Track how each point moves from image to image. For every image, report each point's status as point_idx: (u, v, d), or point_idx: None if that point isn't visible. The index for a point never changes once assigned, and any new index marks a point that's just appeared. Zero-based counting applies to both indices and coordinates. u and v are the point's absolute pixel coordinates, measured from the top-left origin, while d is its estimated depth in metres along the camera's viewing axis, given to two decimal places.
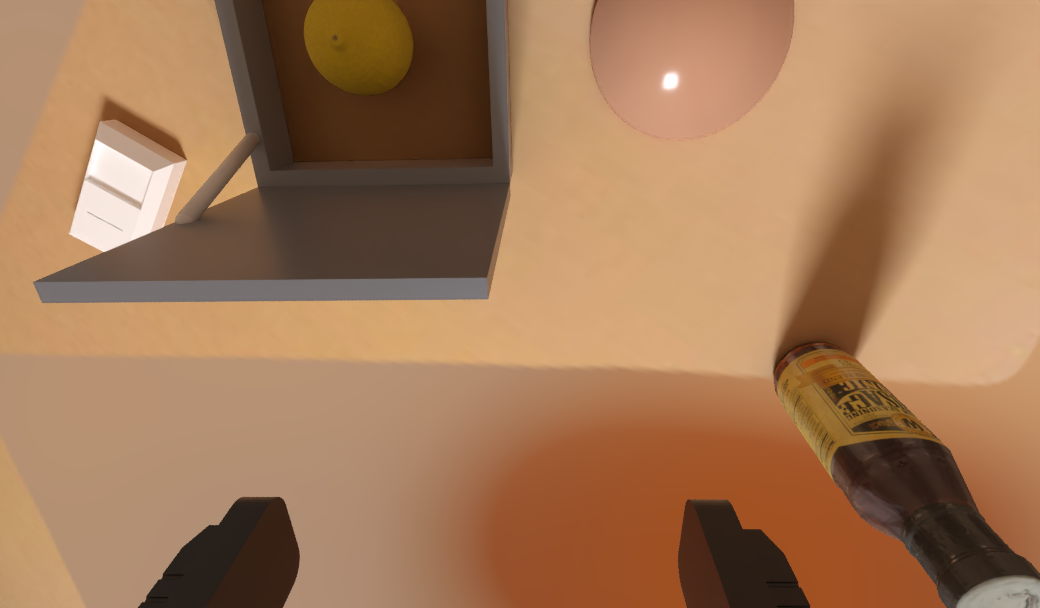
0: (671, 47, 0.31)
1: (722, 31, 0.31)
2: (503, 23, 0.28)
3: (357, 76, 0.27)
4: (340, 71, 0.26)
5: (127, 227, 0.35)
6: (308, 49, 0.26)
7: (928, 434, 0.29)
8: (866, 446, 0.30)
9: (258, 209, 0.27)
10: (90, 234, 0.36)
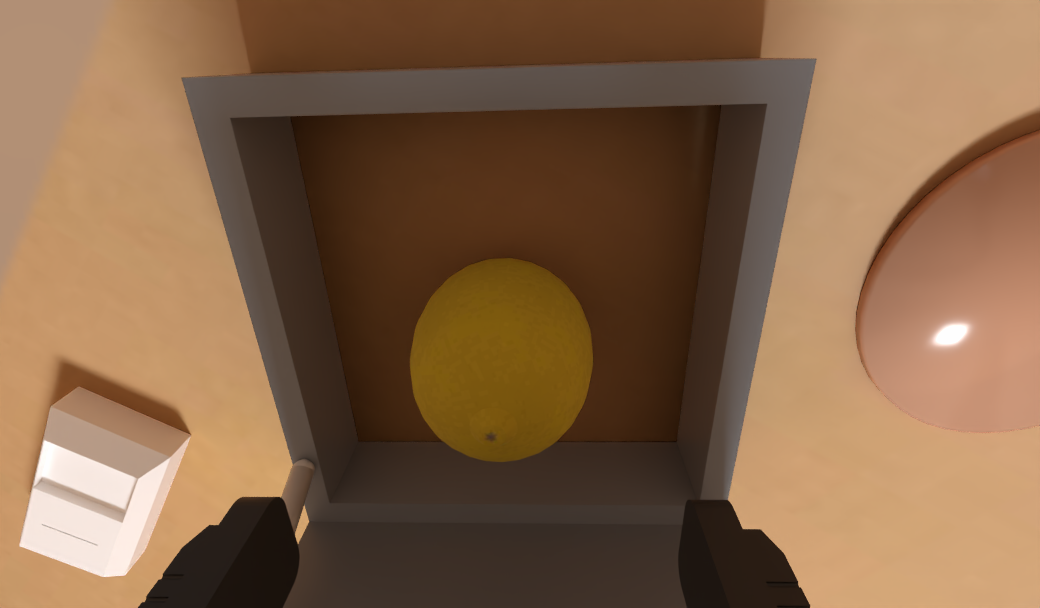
0: (1006, 313, 0.18)
1: None
2: (760, 321, 0.16)
3: (514, 460, 0.14)
4: (485, 458, 0.14)
5: (104, 541, 0.23)
6: (423, 413, 0.14)
7: None
8: None
9: None
10: (49, 549, 0.23)
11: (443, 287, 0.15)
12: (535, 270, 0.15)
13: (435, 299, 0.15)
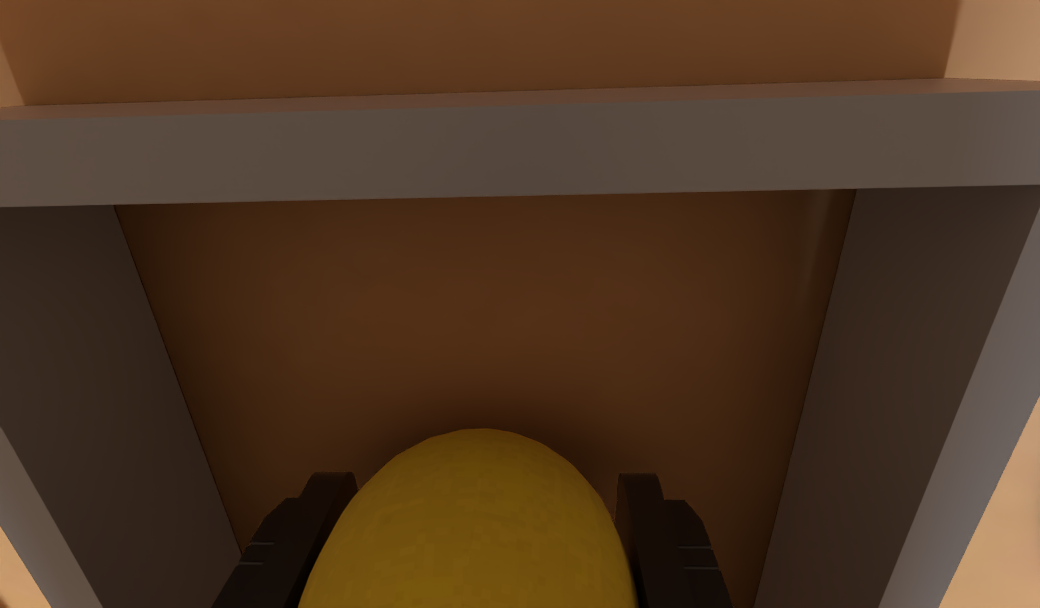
0: None
1: None
2: (952, 565, 0.08)
3: None
4: None
5: None
6: None
7: None
8: None
9: None
10: None
11: (353, 523, 0.08)
12: (532, 485, 0.08)
13: (333, 557, 0.07)
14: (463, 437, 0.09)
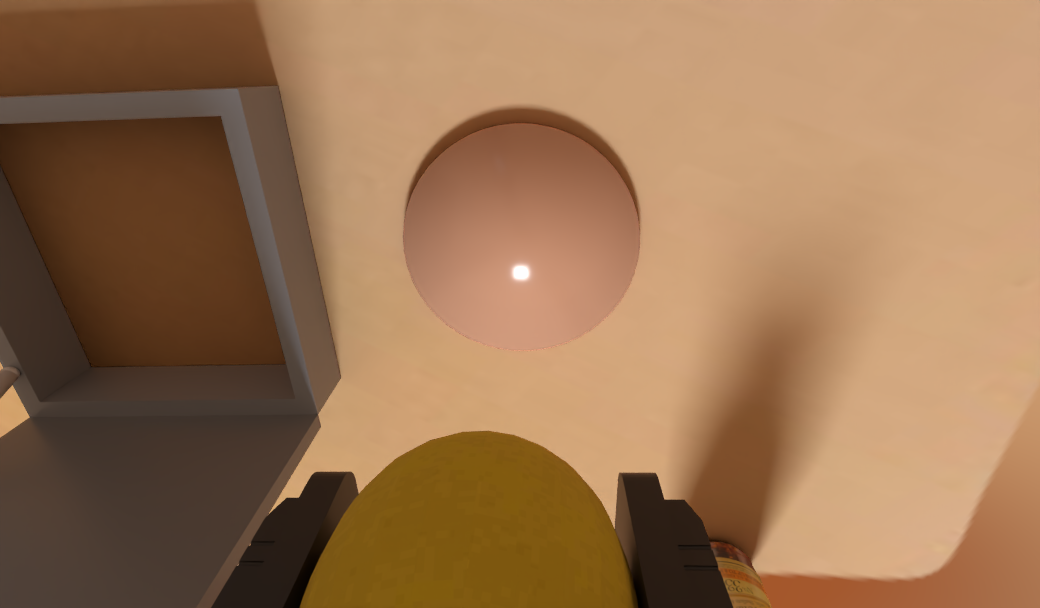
0: (499, 259, 0.26)
1: (557, 243, 0.26)
2: (278, 259, 0.24)
3: None
4: None
5: None
6: None
7: None
8: None
9: None
10: None
11: (354, 526, 0.08)
12: (532, 488, 0.08)
13: (334, 559, 0.07)
14: (463, 440, 0.09)
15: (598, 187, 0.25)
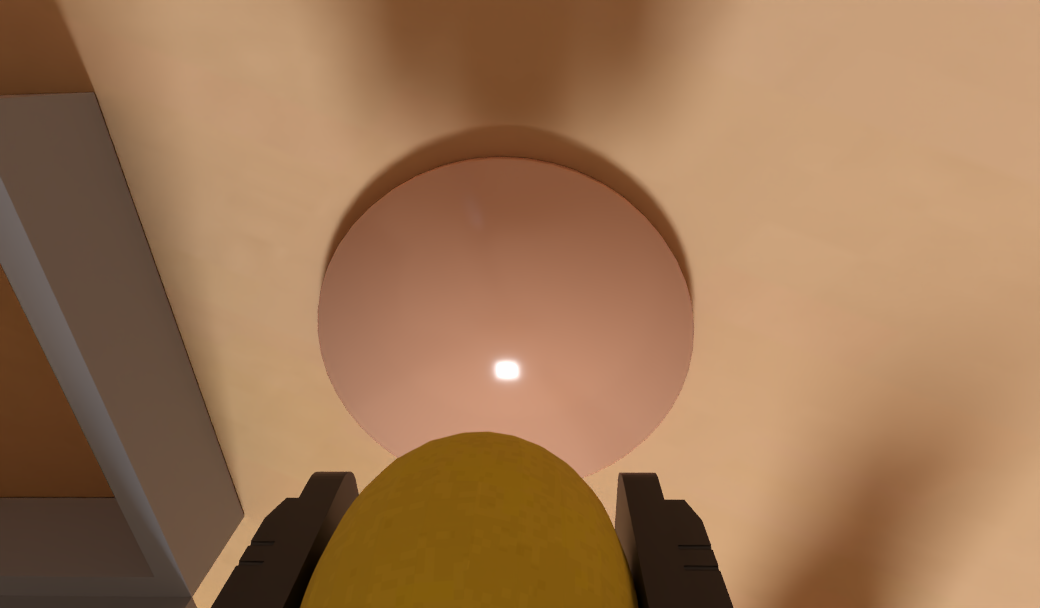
0: (471, 366, 0.17)
1: (561, 344, 0.16)
2: (92, 385, 0.14)
3: None
4: None
5: None
6: None
7: None
8: None
9: None
10: None
11: (354, 527, 0.08)
12: (532, 489, 0.08)
13: (334, 560, 0.07)
14: (463, 441, 0.09)
15: (630, 261, 0.15)
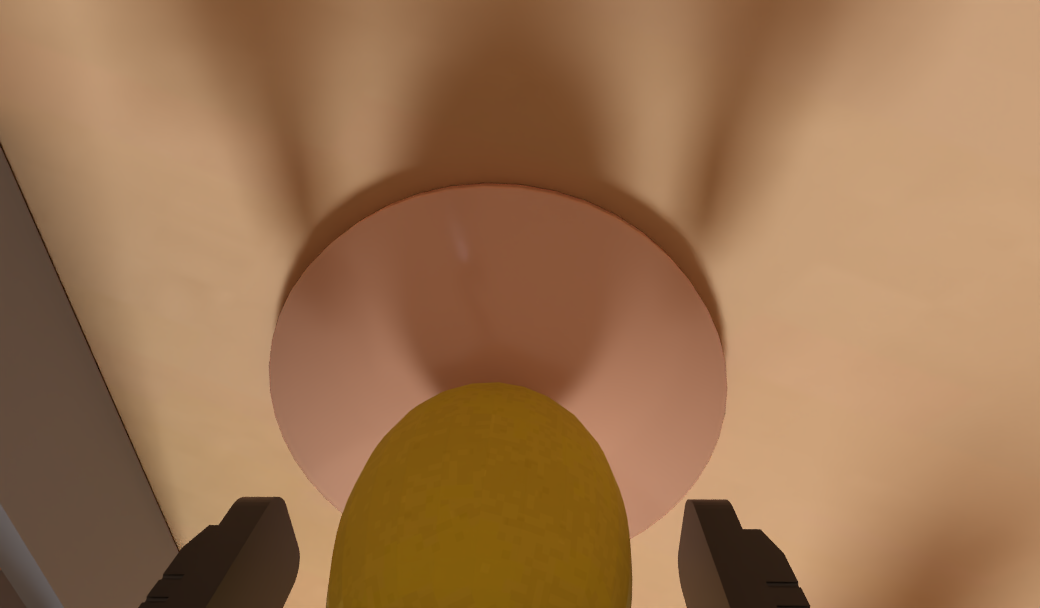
0: None
1: (565, 407, 0.13)
2: None
3: None
4: None
5: None
6: None
7: None
8: None
9: None
10: None
11: (386, 452, 0.09)
12: (537, 421, 0.09)
13: (371, 477, 0.09)
14: (478, 386, 0.10)
15: (650, 311, 0.12)
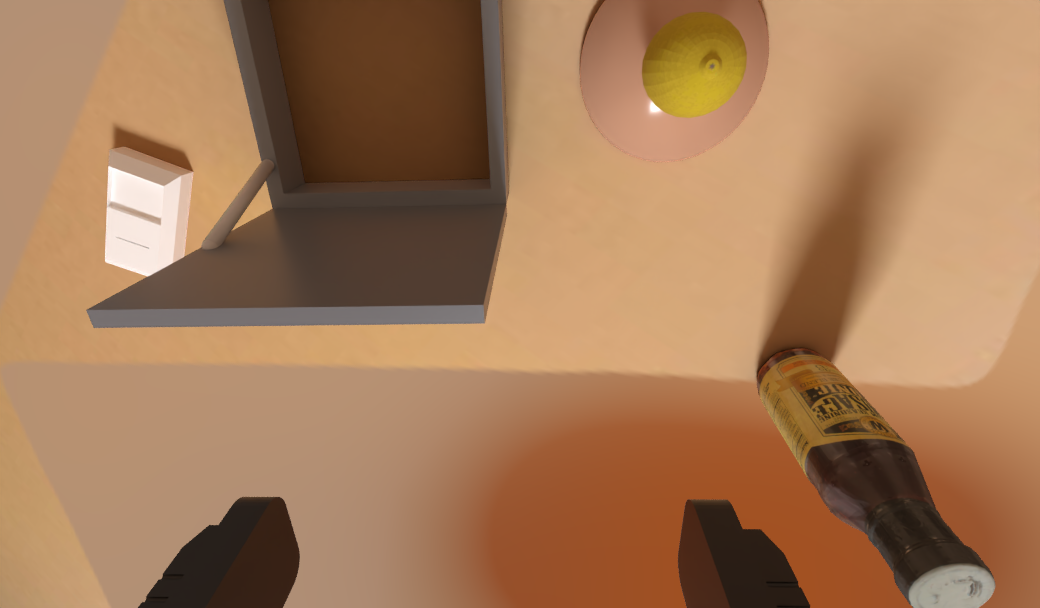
0: None
1: None
2: (499, 59, 0.31)
3: (710, 101, 0.28)
4: (697, 97, 0.27)
5: (153, 243, 0.38)
6: (665, 75, 0.28)
7: (892, 435, 0.32)
8: (836, 446, 0.32)
9: (275, 233, 0.30)
10: (122, 257, 0.38)
11: None
12: None
13: (664, 27, 0.28)
14: None
15: (740, 12, 0.32)
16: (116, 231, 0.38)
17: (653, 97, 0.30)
